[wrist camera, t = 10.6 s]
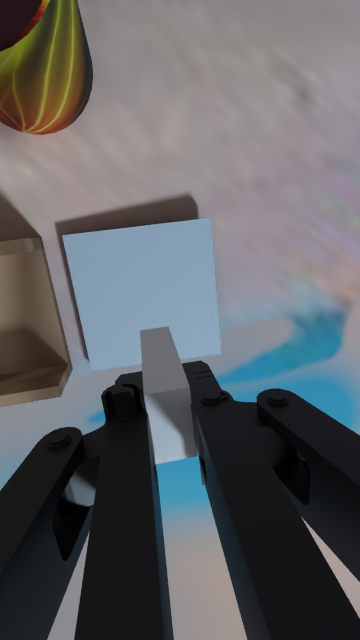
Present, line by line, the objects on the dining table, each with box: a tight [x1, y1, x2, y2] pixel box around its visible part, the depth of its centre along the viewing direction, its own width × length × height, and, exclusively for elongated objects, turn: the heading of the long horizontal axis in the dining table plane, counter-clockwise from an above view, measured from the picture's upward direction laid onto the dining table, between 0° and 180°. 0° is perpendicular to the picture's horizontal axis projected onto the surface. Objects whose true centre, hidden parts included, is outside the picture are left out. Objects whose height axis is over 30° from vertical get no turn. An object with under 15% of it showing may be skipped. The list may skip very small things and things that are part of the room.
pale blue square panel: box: [62, 218, 221, 370], centre depth 29 cm, size 13×13×1 cm
